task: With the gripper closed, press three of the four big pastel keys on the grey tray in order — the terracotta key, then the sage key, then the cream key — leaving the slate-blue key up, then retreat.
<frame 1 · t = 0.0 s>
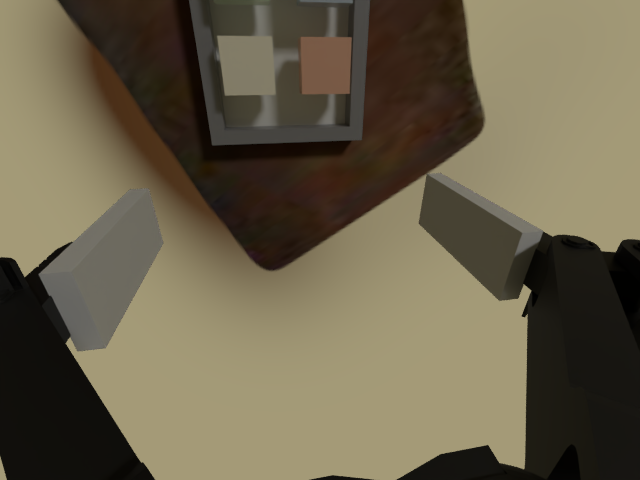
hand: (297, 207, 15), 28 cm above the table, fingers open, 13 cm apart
grey tray: (282, 25, 35), on the table
key cream: (248, 66, 33), point 4 cm above the table, slide at 0.0 cm
key terracotta: (324, 66, 34), point 4 cm above the table, slide at 0.0 cm
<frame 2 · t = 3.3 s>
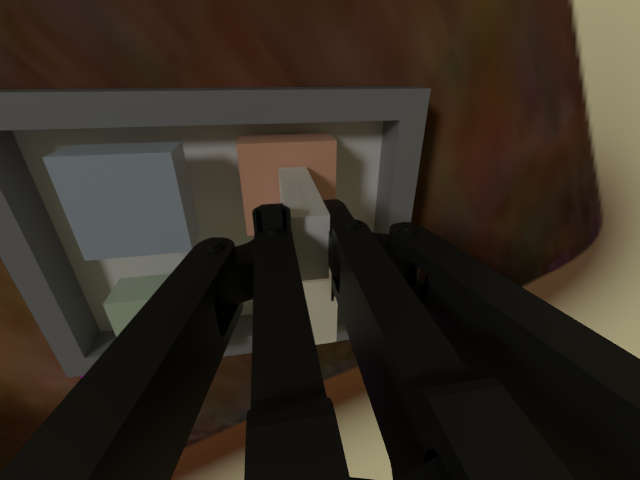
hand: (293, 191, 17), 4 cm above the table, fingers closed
key sage: (169, 319, 20), point 4 cm above the table, slide at 0.0 cm
grey tray: (230, 229, 22), on the table
key cream: (295, 304, 21), point 4 cm above the table, slide at 0.0 cm
key terracotta: (287, 183, 19), point 3 cm above the table, slide at -1.3 cm, touching gripper
key slate: (134, 200, 16), point 4 cm above the table, slide at 0.0 cm
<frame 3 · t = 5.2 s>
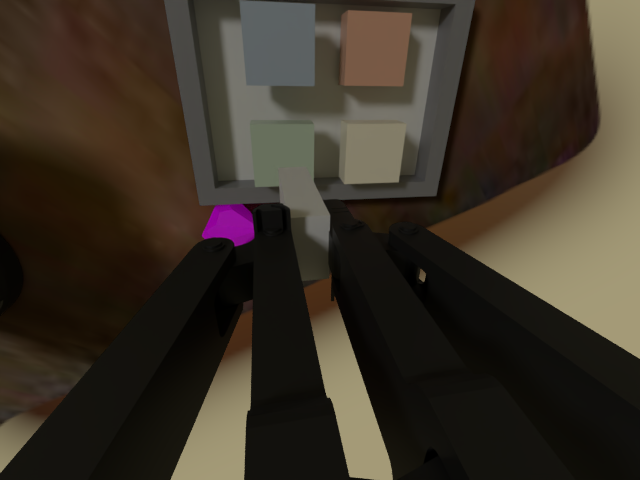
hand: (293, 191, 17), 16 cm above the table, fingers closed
key sage: (282, 153, 28), point 4 cm above the table, slide at 0.0 cm
grey tray: (321, 100, 30), on the table
key cream: (370, 151, 29), point 4 cm above the table, slide at 0.0 cm
key terracotta: (372, 51, 27), point 2 cm above the table, slide at -1.8 cm
crystal: (234, 220, 35), on the table
key slate: (278, 47, 24), point 4 cm above the table, slide at 0.0 cm
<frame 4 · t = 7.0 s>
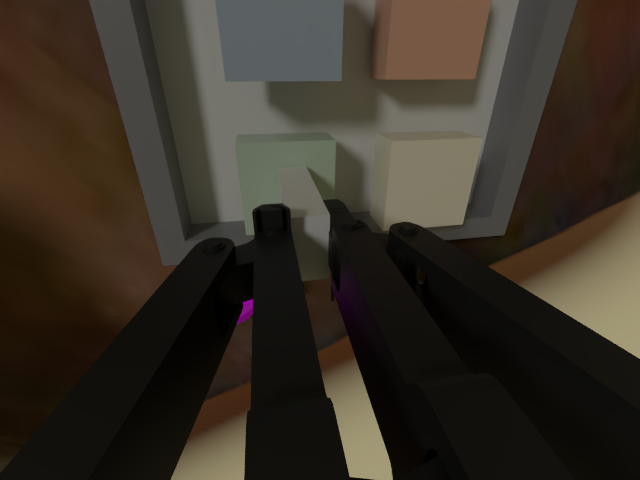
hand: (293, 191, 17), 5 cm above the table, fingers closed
key sage: (286, 182, 19), point 3 cm above the table, slide at -0.9 cm, touching gripper
grey tray: (342, 103, 20), on the table
key cream: (420, 180, 19), point 4 cm above the table, slide at 0.0 cm
key terracotta: (428, 24, 17), point 2 cm above the table, slide at -1.8 cm
key slate: (279, 15, 14), point 4 cm above the table, slide at 0.0 cm
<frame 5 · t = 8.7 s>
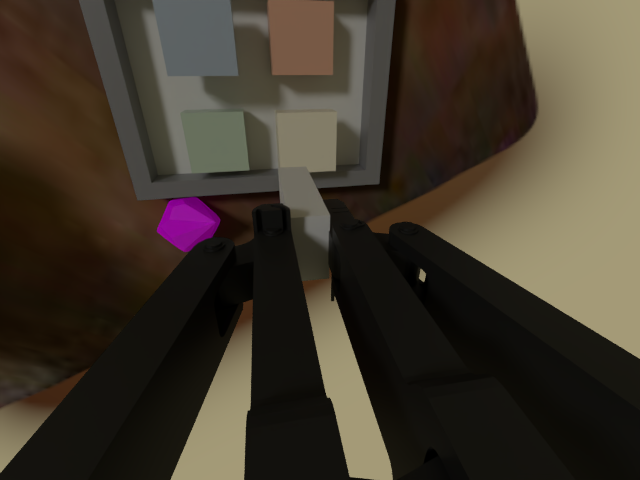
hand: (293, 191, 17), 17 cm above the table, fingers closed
key sage: (217, 140, 29), point 2 cm above the table, slide at -1.8 cm
grey tray: (256, 91, 30), on the table
key cream: (305, 141, 29), point 4 cm above the table, slide at 0.0 cm
key terracotta: (300, 40, 27), point 2 cm above the table, slide at -1.8 cm
crystal: (192, 215, 35), on the table
key slate: (199, 37, 24), point 4 cm above the table, slide at 0.0 cm
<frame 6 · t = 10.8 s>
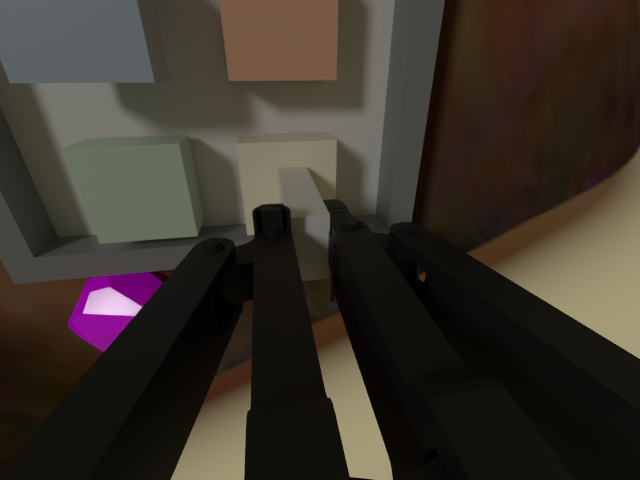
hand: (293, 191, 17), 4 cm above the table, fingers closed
key sage: (144, 188, 18), point 2 cm above the table, slide at -1.8 cm
grey tray: (211, 106, 18), on the table
key cream: (287, 183, 19), point 3 cm above the table, slide at -1.4 cm
key terracotta: (279, 19, 15), point 2 cm above the table, slide at -1.8 cm
crystal: (135, 289, 23), on the table
key slate: (76, 7, 12), point 4 cm above the table, slide at 0.0 cm
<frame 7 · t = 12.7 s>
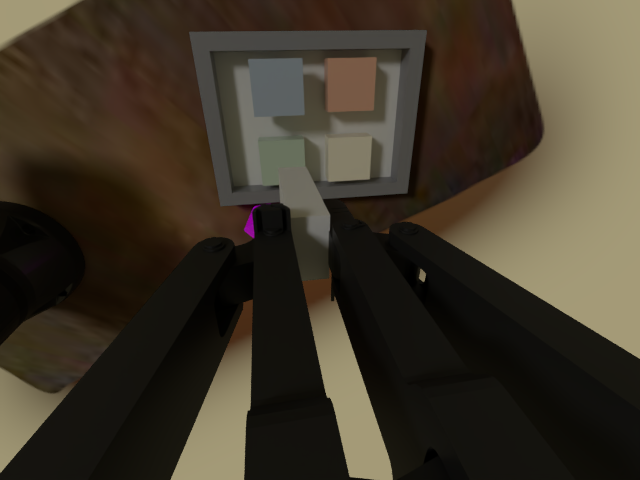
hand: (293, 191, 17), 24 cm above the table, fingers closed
key sage: (282, 160, 38), point 2 cm above the table, slide at -1.8 cm
grey tray: (312, 121, 39), on the table
key cream: (347, 157, 39), point 2 cm above the table, slide at -1.8 cm
key terracotta: (349, 84, 35), point 2 cm above the table, slide at -1.8 cm
crystal: (266, 218, 44), on the table
key slate: (277, 87, 33), point 4 cm above the table, slide at 0.0 cm
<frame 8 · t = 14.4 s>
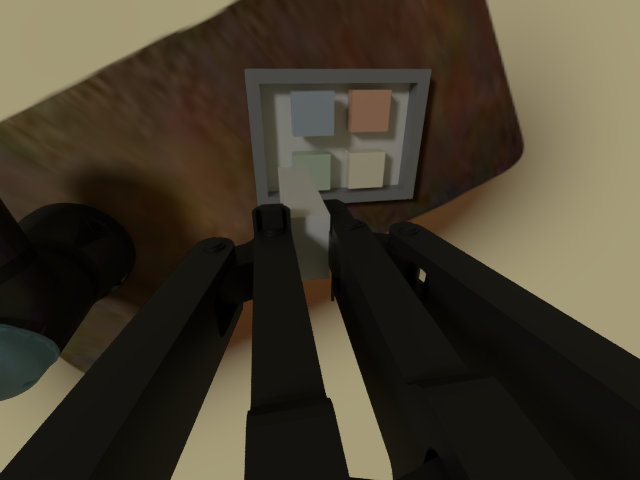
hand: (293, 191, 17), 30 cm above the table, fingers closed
key sage: (311, 170, 46), point 2 cm above the table, slide at -1.8 cm
grey tray: (335, 138, 46), on the table
key cream: (364, 168, 47), point 2 cm above the table, slide at -1.8 cm
key terracotta: (368, 110, 43), point 2 cm above the table, slide at -1.8 cm
key slate: (312, 113, 40), point 4 cm above the table, slide at 0.0 cm
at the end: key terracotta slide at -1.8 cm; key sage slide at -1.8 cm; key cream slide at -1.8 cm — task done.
